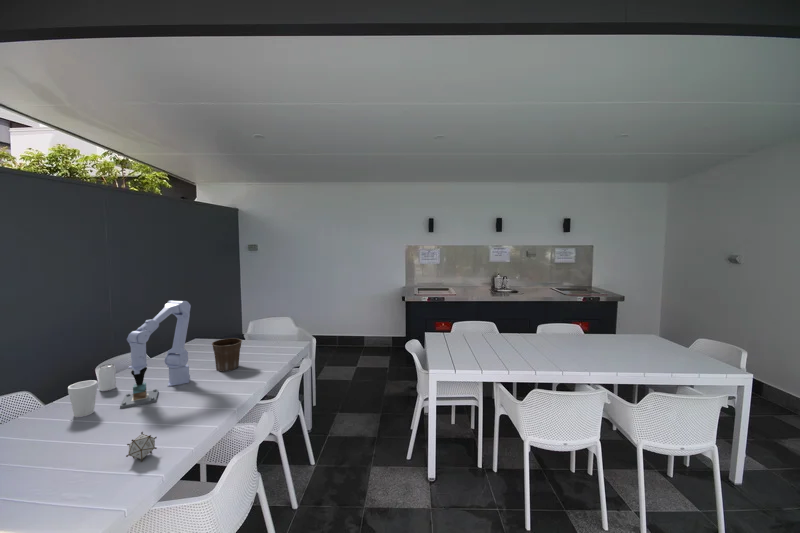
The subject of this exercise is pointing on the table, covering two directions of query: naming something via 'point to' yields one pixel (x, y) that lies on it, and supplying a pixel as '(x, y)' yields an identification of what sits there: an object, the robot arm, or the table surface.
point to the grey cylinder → (107, 377)
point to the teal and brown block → (139, 391)
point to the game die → (141, 446)
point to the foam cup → (83, 397)
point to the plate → (149, 398)
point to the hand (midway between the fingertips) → (139, 384)
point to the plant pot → (227, 353)
